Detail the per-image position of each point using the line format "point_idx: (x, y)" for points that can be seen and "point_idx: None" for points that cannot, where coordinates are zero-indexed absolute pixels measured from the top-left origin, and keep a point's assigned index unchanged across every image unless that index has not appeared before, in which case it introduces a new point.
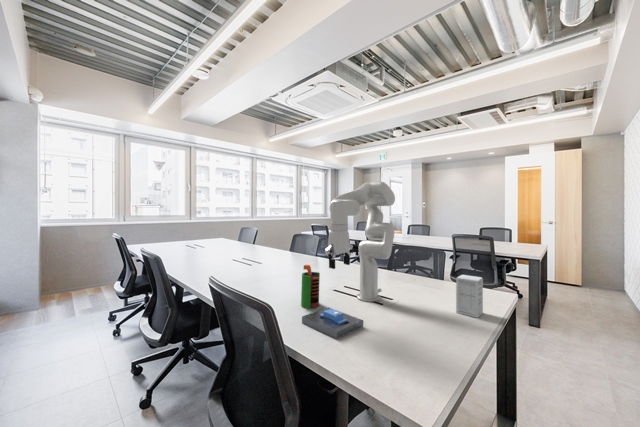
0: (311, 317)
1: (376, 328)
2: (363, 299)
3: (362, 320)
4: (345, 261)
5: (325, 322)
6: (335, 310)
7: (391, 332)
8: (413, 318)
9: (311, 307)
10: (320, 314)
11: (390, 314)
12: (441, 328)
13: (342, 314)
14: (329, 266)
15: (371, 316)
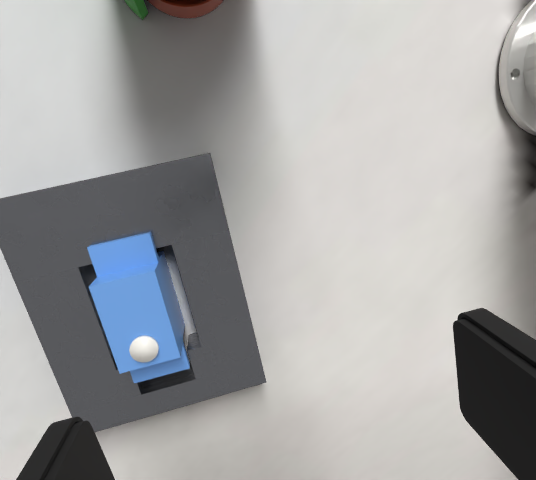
0: (33, 243)
1: (298, 395)
2: (506, 92)
3: (261, 382)
4: (491, 387)
5: (79, 333)
6: (164, 307)
7: (321, 440)
8: None
9: (158, 8)
10: (92, 250)
11: (456, 309)
12: (486, 473)
13: (177, 355)
14: (46, 448)
15: (371, 290)
